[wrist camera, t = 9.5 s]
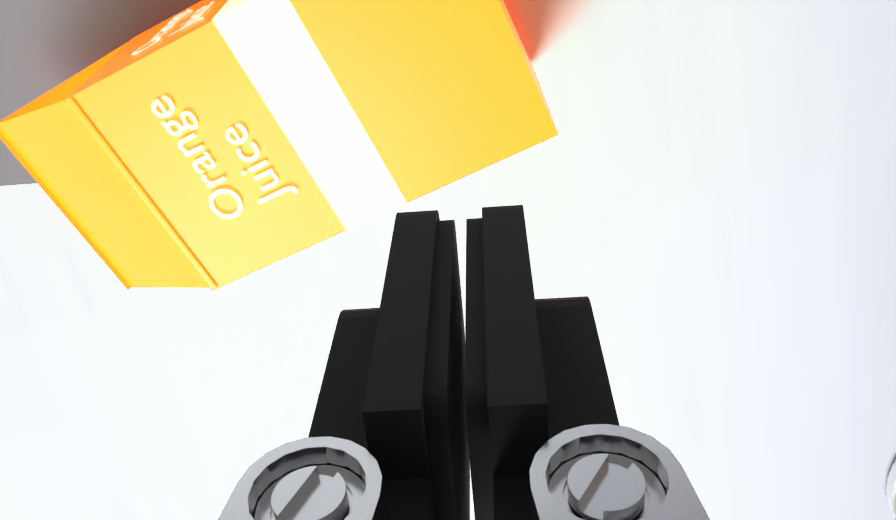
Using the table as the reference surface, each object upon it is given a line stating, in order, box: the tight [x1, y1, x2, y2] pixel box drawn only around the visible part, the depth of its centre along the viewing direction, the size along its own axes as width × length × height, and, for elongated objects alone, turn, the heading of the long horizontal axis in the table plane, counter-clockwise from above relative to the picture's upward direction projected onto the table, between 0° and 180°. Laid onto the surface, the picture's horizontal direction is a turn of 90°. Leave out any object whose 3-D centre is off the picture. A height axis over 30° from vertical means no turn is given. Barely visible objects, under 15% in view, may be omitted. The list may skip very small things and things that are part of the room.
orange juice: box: [0, 0, 558, 290], centre depth 31 cm, size 8×9×20 cm
